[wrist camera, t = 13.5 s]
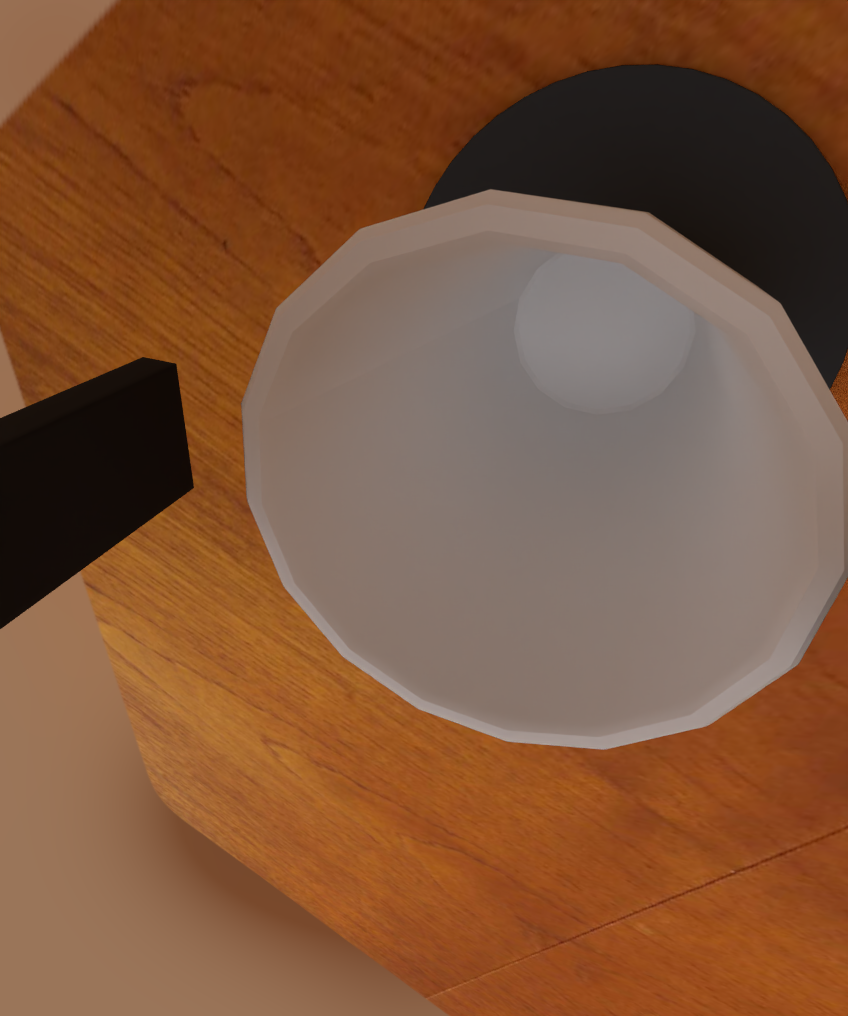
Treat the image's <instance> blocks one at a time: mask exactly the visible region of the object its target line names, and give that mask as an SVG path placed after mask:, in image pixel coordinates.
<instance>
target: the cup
mask: <svg viewBox="0 0 848 1016" xmlns="http://www.w3.org/2000/svg"><path fill="white" fill-rule="evenodd" d="M241 407H242V425H243V442H244V460H245V477H246V495H247V501H248V504H249V506H250V509H251V511H252V514H253V516H254V518H255V521H256V523H257V525H258V528H259V530H260V532H261V535H262V537H263V539H264V542H265V544H266V546H267V549H268V551H269V553H270V556H271V558H272V560H273V563H274V565H275V567H276V570H277V572H278V574H279V577H280V579H281V581H282V584H283V586H284V588H285V589H286V590H287V591H288V592H289V594H290V595H291V596H292V597H293V598H294V599H295V601H296V602H297V603H298V604H299V605H300V607H301V608H302V609H303V610H304V611H305V613H306V614H307V615H308V616H309V617H310V618H311V620H312V621H313V622H314V623H315V624H316V626H317V627H318V628H319V629H320V630H321V632H322V633H323V634H324V635H325V636H326V638H327V639H328V640H329V641H330V642H331V643H332V645H333V646H334V647H335V648H336V649H337V651H338V652H339V653H340V654H341V655H342V656H343V657H344V658H345V659H347V660H348V661H350V662H351V663H353V664H354V665H356V666H357V667H358V668H360V669H361V670H363V671H364V672H366V673H367V674H369V675H370V676H371V677H373V678H374V679H376V680H377V681H379V682H380V683H381V684H383V685H384V686H386V687H387V688H389V689H390V690H392V691H393V692H394V693H396V694H397V695H399V696H400V697H402V698H403V699H405V700H406V701H407V702H409V703H410V704H412V705H413V706H415V707H416V708H417V709H420V710H422V711H425V712H428V713H431V714H433V715H436V716H439V717H442V718H444V719H447V720H450V721H452V722H455V723H458V724H461V725H463V726H466V727H469V728H472V729H474V730H477V731H480V732H482V733H485V734H488V735H491V736H493V737H496V738H499V739H502V740H504V741H507V742H519V743H531V744H543V745H555V746H568V747H580V748H592V749H604V750H605V749H609V748H613V747H618V746H622V745H627V744H631V743H635V742H640V741H644V740H648V739H653V738H657V737H662V736H666V735H670V734H675V733H679V732H683V731H688V730H692V729H697V728H701V727H705V726H708V725H710V724H711V723H713V722H714V721H716V720H717V719H719V718H720V717H722V716H723V715H725V714H726V713H728V712H729V711H731V710H732V709H733V708H735V707H736V706H738V705H739V704H741V703H742V702H744V701H745V700H747V699H748V698H750V697H751V696H753V695H754V694H756V693H757V692H758V691H760V690H761V689H763V688H764V687H766V686H767V685H769V684H770V683H772V682H773V681H775V680H776V679H778V678H779V677H781V676H782V675H783V674H785V673H786V672H788V671H789V670H791V669H792V668H794V667H795V666H797V665H798V664H799V662H800V660H801V659H802V657H803V655H804V653H805V652H806V650H807V648H808V646H809V645H810V643H811V641H812V639H813V638H814V636H815V634H816V632H817V631H818V629H819V627H820V625H821V623H822V622H823V620H824V618H825V616H826V615H827V613H828V611H829V609H830V608H831V606H832V604H833V602H834V601H835V599H836V597H837V595H838V594H839V592H840V590H841V588H842V586H843V585H844V583H845V581H846V579H847V578H848V421H847V420H846V418H845V416H844V414H843V413H842V411H841V409H840V407H839V406H838V404H837V402H836V400H835V398H834V397H833V395H832V393H831V391H830V390H829V388H828V386H827V384H826V383H825V381H824V379H823V377H822V376H821V374H820V372H819V370H818V368H817V367H816V365H815V363H814V361H813V360H812V358H811V356H810V354H809V353H808V351H807V349H806V347H805V346H804V344H803V342H802V340H801V339H800V337H799V335H798V333H797V331H796V330H795V328H794V326H793V324H792V323H791V321H790V319H789V317H788V316H787V314H786V312H785V310H784V309H783V307H782V305H781V303H779V302H778V301H777V300H775V299H774V298H773V297H771V296H770V295H769V294H767V293H766V292H764V291H763V290H762V289H760V288H759V287H758V286H756V285H755V284H753V283H752V282H750V281H749V280H747V279H746V278H745V277H743V276H742V275H740V274H739V273H737V272H736V271H734V270H733V269H731V268H730V267H728V266H727V265H725V264H724V263H722V262H721V261H720V260H718V259H717V258H715V257H714V256H712V255H711V254H709V253H708V252H706V251H705V250H703V249H702V248H700V247H699V246H697V245H696V244H695V243H693V242H692V241H690V240H689V239H687V238H686V237H684V236H683V235H681V234H680V233H678V232H677V231H675V230H674V229H672V228H671V227H670V226H668V225H667V224H665V223H664V222H662V221H661V220H659V219H658V218H656V217H655V216H653V215H652V214H650V213H649V212H643V211H636V210H629V209H623V208H616V207H609V206H602V205H595V204H588V203H581V202H574V201H568V200H561V199H554V198H547V197H540V196H533V195H526V194H519V193H512V192H506V191H499V190H492V189H490V190H486V191H483V192H480V193H477V194H473V195H470V196H467V197H463V198H460V199H457V200H453V201H450V202H447V203H444V204H440V205H437V206H434V207H430V208H427V209H424V210H420V211H417V212H414V213H411V214H407V215H404V216H401V217H397V218H394V219H391V220H388V221H384V222H381V223H378V224H374V225H371V226H368V227H364V228H361V229H359V230H358V231H357V232H356V233H355V234H354V235H353V236H352V237H351V238H350V239H349V240H348V241H347V242H346V243H344V244H343V245H342V246H341V247H340V248H339V249H338V250H337V251H336V252H335V253H334V254H333V255H332V256H331V257H330V258H329V259H328V260H327V261H326V262H324V263H323V264H322V265H321V266H320V267H319V268H318V269H317V270H316V271H315V272H314V273H313V274H312V275H311V276H310V277H309V278H308V279H307V280H306V281H305V282H303V283H302V284H301V285H300V286H299V287H298V288H297V289H296V290H295V291H294V292H293V293H292V294H291V295H290V296H289V297H288V298H287V299H286V300H285V301H283V302H282V303H281V304H280V305H279V306H278V307H277V308H276V310H275V313H274V316H273V319H272V321H271V324H270V327H269V329H268V332H267V335H266V338H265V340H264V343H263V346H262V349H261V351H260V354H259V357H258V359H257V362H256V365H255V368H254V370H253V373H252V376H251V378H250V381H249V384H248V387H247V389H246V392H245V395H244V397H243V400H242V403H241Z"/></svg>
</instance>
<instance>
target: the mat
mask: <svg viewBox="0 0 848 1016" xmlns="http://www.w3.org/2000/svg"><path fill="white" fill-rule="evenodd" d="M490 189H492V190H499V191H506V192H512V193H519V194H526V195H533V196H540V197H547V198H554V199H561V200H568V201H574V202H581V203H588V204H595V205H602V206H609V207H616V208H623V209H629V210H636V211H643V212H649V213H650V214H652V215H653V216H655V217H656V218H658V219H659V220H661V221H662V222H664V223H665V224H667V225H668V226H670V227H671V228H672V229H674V230H675V231H677V232H678V233H680V234H681V235H683V236H684V237H686V238H687V239H689V240H690V241H692V242H693V243H695V244H696V245H697V246H699V247H700V248H702V249H703V250H705V251H706V252H708V253H709V254H711V255H712V256H714V257H715V258H717V259H718V260H720V261H721V262H722V263H724V264H725V265H727V266H728V267H730V268H731V269H733V270H734V271H736V272H737V273H739V274H740V275H742V276H743V277H745V278H746V279H747V280H749V281H750V282H752V283H753V284H755V285H756V286H758V287H759V288H760V289H762V290H763V291H764V292H766V293H767V294H769V295H770V296H771V297H773V298H774V299H775V300H777V301H778V302H779V303H781V305H782V307H783V309H784V310H785V312H786V314H787V316H788V317H789V319H790V321H791V323H792V324H793V326H794V328H795V330H796V331H797V333H798V335H799V337H800V339H801V340H802V342H803V344H804V346H805V347H806V349H807V351H808V353H809V354H810V356H811V358H812V360H813V361H814V363H815V365H816V367H817V368H818V370H819V372H820V374H821V376H822V377H823V379H824V381H825V383H826V384H827V386H828V388H829V390H830V388H831V386H832V384H833V382H834V380H835V378H836V376H837V374H838V372H839V370H840V368H841V366H842V364H843V361H844V358H845V355H846V352H847V349H848V202H847V199H846V197H845V195H844V193H843V191H842V188H841V186H840V184H839V182H838V180H837V178H836V176H835V174H834V172H833V170H832V168H831V166H830V165H829V163H828V162H827V161H826V159H825V158H824V156H823V155H822V154H821V152H820V151H819V149H818V148H817V147H816V145H815V144H814V142H813V141H812V139H811V138H810V137H809V136H808V135H807V134H806V133H805V132H804V131H803V130H802V129H801V128H800V127H799V126H798V125H797V124H796V123H795V122H794V121H793V120H792V119H791V118H790V117H789V116H788V115H786V114H785V113H784V112H782V111H781V110H779V109H778V108H777V107H775V106H774V105H772V104H771V103H770V102H768V101H767V100H765V99H764V98H763V97H761V96H760V95H758V94H756V93H754V92H752V91H750V90H748V89H746V88H744V87H742V86H740V85H738V84H736V83H734V82H732V81H729V80H727V79H725V78H721V77H718V76H714V75H711V74H708V73H704V72H701V71H698V70H694V69H689V68H681V67H673V66H666V65H658V64H656V65H621V66H616V67H610V68H604V69H599V70H593V71H587V72H584V73H581V74H578V75H575V76H572V77H569V78H566V79H563V80H560V81H557V82H554V83H552V84H550V85H548V86H546V87H544V88H542V89H540V90H538V91H536V92H534V93H532V94H530V95H528V96H526V97H524V98H523V99H521V100H520V101H518V102H517V103H515V104H514V105H512V106H511V107H509V108H508V109H506V110H505V111H503V112H502V113H500V114H499V115H497V116H496V117H495V118H494V119H493V120H492V121H491V122H489V123H488V124H487V125H486V126H485V127H484V128H483V129H481V130H480V131H479V132H478V133H477V134H476V135H475V136H474V137H473V138H472V139H471V140H470V141H469V142H468V143H467V144H466V146H465V147H464V148H463V149H462V150H461V151H460V152H459V154H458V155H457V156H456V157H455V158H454V159H453V160H452V162H451V163H450V165H449V166H448V168H447V169H446V171H445V172H444V174H443V175H442V177H441V178H440V180H439V181H438V183H437V184H436V186H435V187H434V189H433V191H432V193H431V195H430V197H429V199H428V201H427V203H426V205H425V207H424V209H427V208H430V207H434V206H437V205H440V204H444V203H447V202H450V201H453V200H457V199H460V198H463V197H467V196H470V195H473V194H477V193H480V192H483V191H486V190H490ZM424 209H423V210H424Z"/></svg>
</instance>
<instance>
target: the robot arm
mask: <svg viewBox="0 0 848 1016" xmlns="http://www.w3.org/2000/svg"><path fill="white" fill-rule="evenodd" d="M193 488H194V485H193V478H192V471H191V464H190V457H189V450H188V443H187V436H186V429H185V422H184V415H183V408H182V401H181V394H180V387H179V380H178V373H177V366H176V364H175V363H170V362H165V361H160V360H155V359H150V358H145V357H142V358H140V359H138V360H135V361H133V362H131V363H128V364H126V365H124V366H121V367H119V368H117V369H114V370H112V371H110V372H107V373H105V374H103V375H100V376H98V377H96V378H93V379H91V380H89V381H86V382H84V383H81V384H79V385H77V386H74V387H72V388H70V389H67V390H65V391H63V392H60V393H58V394H56V395H53V396H51V397H49V398H46V399H44V400H42V401H39V402H37V403H35V404H32V405H30V406H28V407H25V408H23V409H21V410H18V411H16V412H14V413H11V414H9V415H7V416H4V417H2V418H0V629H1V628H3V627H4V626H5V625H7V624H8V623H9V622H10V621H12V620H14V619H15V618H16V617H18V616H19V615H20V614H22V613H23V612H24V611H26V610H27V609H29V608H30V607H31V606H33V605H34V604H35V603H37V602H38V601H40V600H41V599H42V598H44V597H45V596H46V595H48V594H49V593H50V592H52V591H53V590H55V589H56V588H57V587H59V586H60V585H61V584H63V583H64V582H65V581H67V580H68V579H70V578H71V577H72V576H74V575H75V574H77V573H78V572H79V571H81V570H82V569H83V568H85V567H86V566H87V565H89V564H90V563H92V562H93V561H94V560H96V559H97V558H98V557H100V556H101V555H103V554H104V553H105V552H107V551H108V550H109V549H111V548H112V547H113V546H115V545H116V544H118V543H119V542H120V541H122V540H123V539H124V538H126V537H127V536H129V535H130V534H131V533H133V532H134V531H135V530H137V529H138V528H139V527H141V526H142V525H144V524H145V523H146V522H148V521H149V520H150V519H152V518H153V517H155V516H156V515H157V514H159V513H160V512H161V511H163V510H164V509H165V508H167V507H168V506H170V505H171V504H172V503H174V502H175V501H176V500H178V499H179V498H181V497H182V496H183V495H185V494H186V493H187V492H189V491H190V490H191V489H193Z"/></svg>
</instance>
